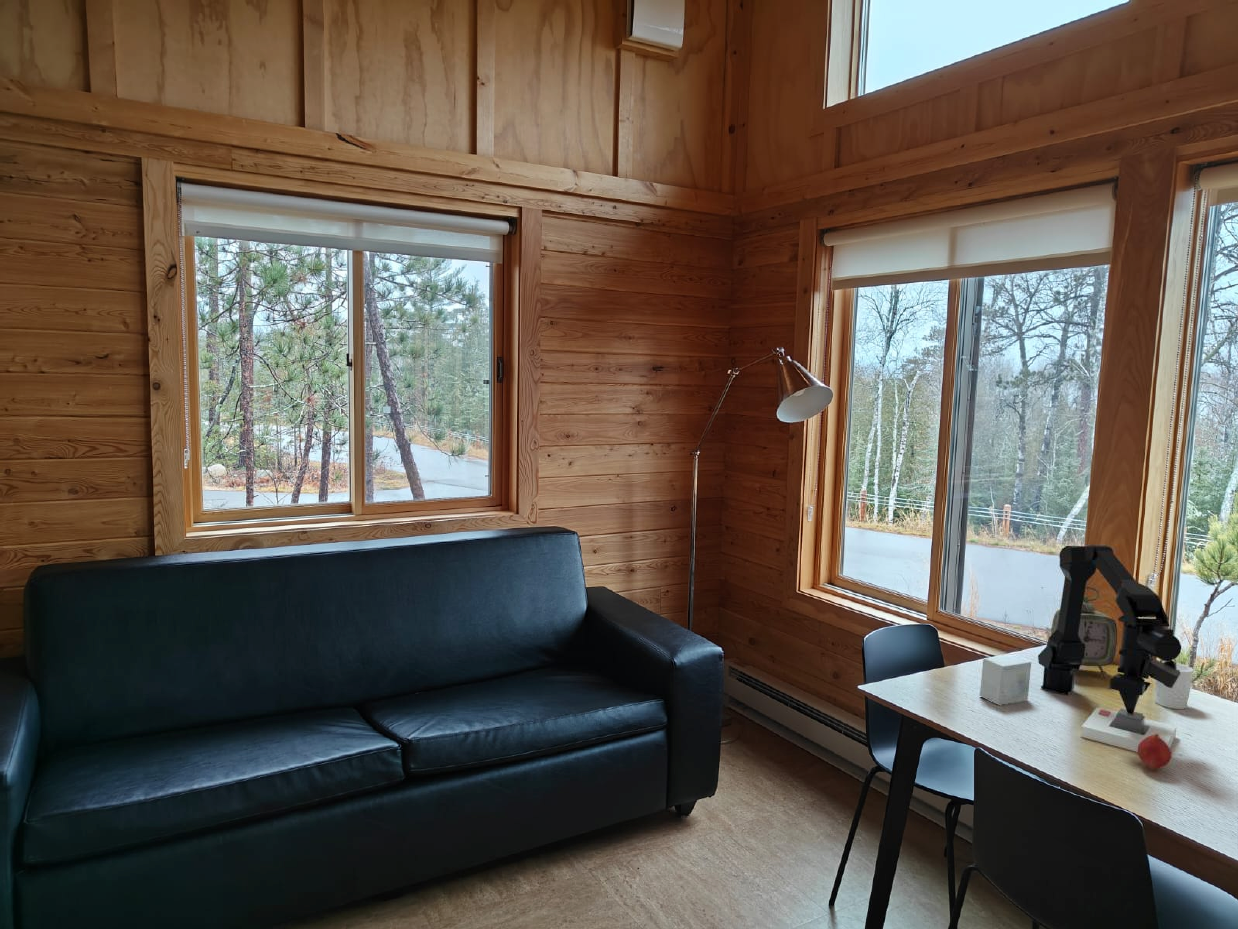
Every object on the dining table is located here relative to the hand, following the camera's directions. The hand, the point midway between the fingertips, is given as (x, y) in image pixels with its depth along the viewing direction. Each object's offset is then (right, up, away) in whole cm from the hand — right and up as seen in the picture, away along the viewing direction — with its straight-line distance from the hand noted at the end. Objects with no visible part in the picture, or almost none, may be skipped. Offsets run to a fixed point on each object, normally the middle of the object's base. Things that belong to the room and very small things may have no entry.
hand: (1130, 713), depth 185 cm
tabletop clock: (+13, -2, +44) cm, 46 cm away
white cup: (+24, -5, +22) cm, 33 cm away
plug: (0, -5, 0) cm, 5 cm away
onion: (-6, -7, -16) cm, 18 cm away
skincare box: (-18, -3, +22) cm, 29 cm away
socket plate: (0, -6, +1) cm, 6 cm away
